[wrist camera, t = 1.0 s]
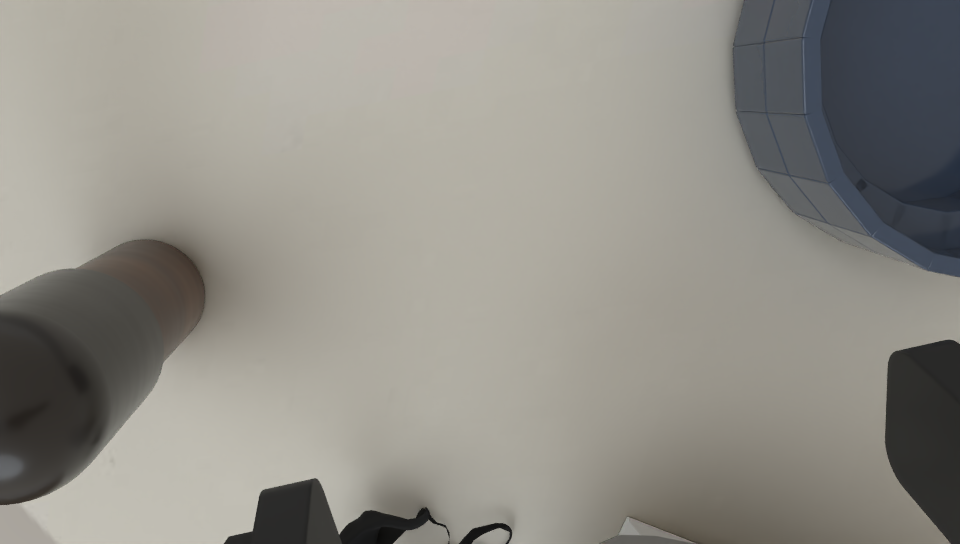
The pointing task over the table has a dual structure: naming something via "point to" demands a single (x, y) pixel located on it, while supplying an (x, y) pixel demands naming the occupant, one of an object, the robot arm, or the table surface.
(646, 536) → the alarm clock
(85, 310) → the two-tone capsule
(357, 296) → the table surface
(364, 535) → the creature
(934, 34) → the bowl
